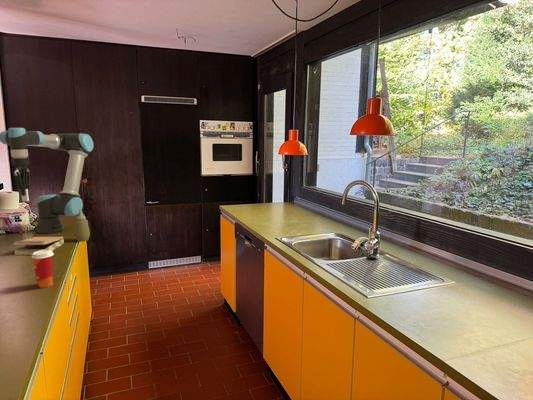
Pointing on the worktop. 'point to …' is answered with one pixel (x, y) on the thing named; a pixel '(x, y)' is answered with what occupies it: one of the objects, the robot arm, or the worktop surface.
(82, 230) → the squeeze bottle
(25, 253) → the frame
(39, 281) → the paper cup
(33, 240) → the lid
